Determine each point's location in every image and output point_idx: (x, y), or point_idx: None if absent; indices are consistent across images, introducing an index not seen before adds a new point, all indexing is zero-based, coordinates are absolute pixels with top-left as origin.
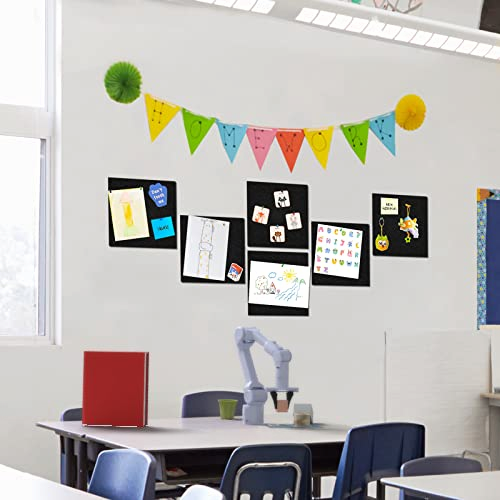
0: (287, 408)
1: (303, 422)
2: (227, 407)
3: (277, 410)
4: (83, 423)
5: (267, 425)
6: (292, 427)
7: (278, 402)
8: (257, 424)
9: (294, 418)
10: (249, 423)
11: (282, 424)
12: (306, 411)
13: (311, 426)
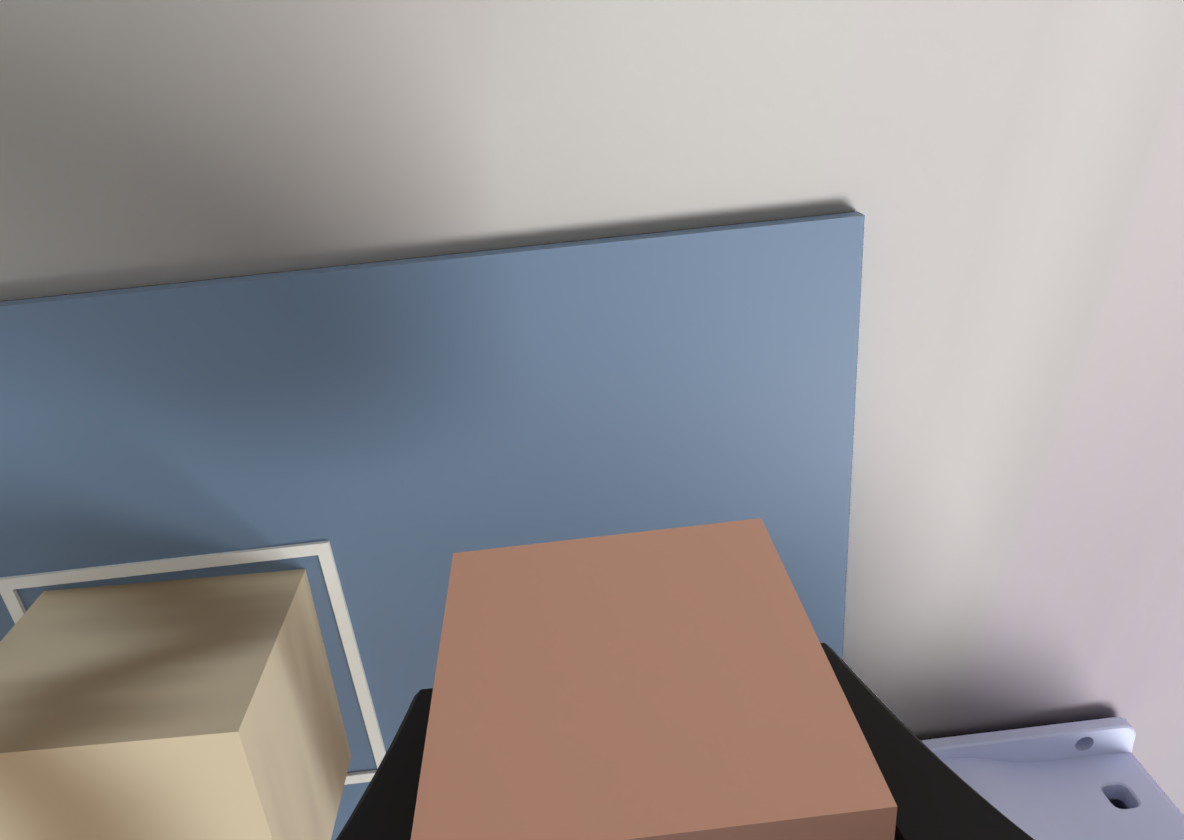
0: (454, 623)
1: (135, 626)
2: None
3: (775, 562)
4: None
5: None
6: (378, 361)
7: (831, 748)
8: (936, 744)
9: (313, 809)
10: (1058, 764)
11: None
12: None
13: (4, 566)
